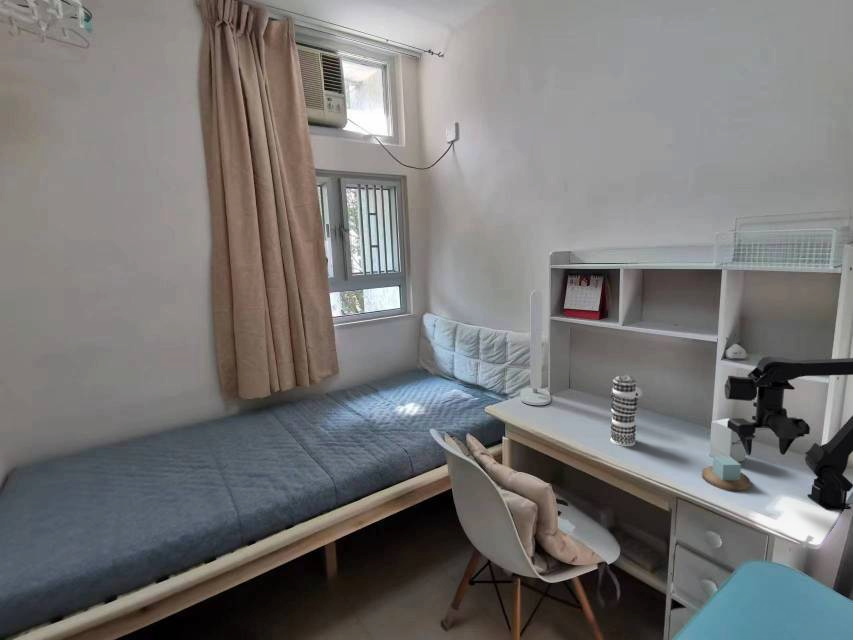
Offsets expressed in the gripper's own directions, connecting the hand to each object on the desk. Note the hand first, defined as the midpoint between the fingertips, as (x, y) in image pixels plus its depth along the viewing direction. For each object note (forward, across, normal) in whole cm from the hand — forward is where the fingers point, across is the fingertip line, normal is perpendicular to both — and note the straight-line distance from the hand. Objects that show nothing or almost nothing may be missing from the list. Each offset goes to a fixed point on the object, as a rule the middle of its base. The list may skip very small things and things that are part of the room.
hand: (765, 454), depth 121 cm
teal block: (+10, -6, +7) cm, 14 cm away
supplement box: (+12, +3, +21) cm, 25 cm away
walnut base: (+12, -6, +7) cm, 15 cm away
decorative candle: (+12, -26, +35) cm, 45 cm away
